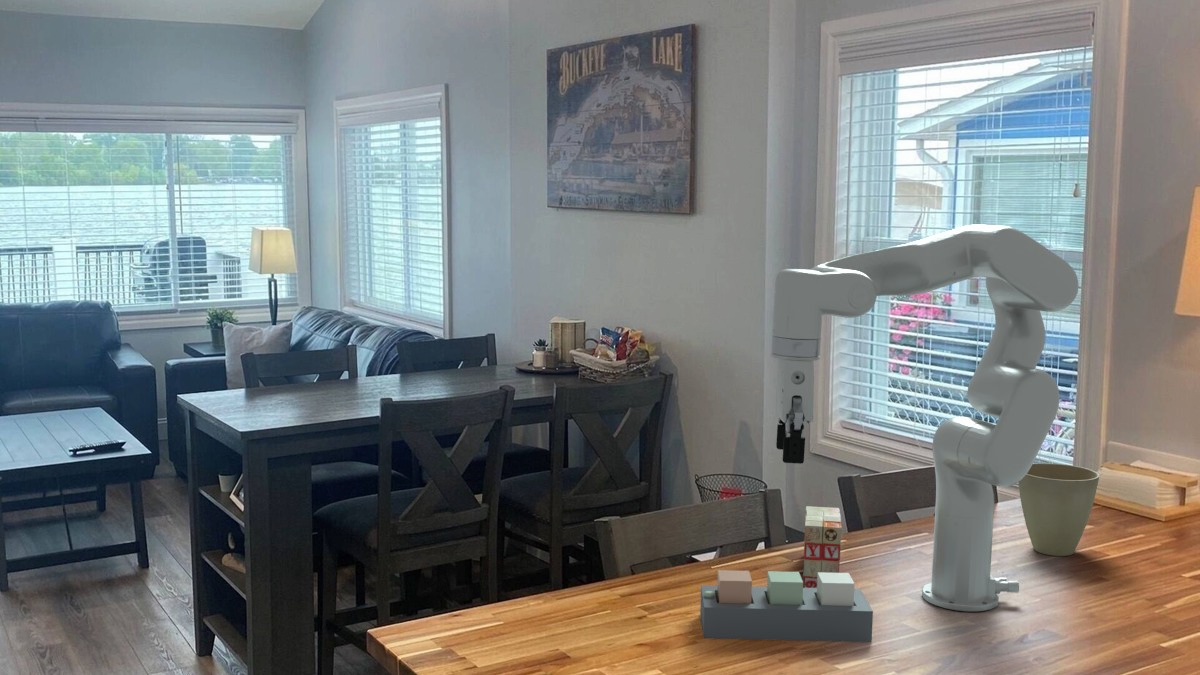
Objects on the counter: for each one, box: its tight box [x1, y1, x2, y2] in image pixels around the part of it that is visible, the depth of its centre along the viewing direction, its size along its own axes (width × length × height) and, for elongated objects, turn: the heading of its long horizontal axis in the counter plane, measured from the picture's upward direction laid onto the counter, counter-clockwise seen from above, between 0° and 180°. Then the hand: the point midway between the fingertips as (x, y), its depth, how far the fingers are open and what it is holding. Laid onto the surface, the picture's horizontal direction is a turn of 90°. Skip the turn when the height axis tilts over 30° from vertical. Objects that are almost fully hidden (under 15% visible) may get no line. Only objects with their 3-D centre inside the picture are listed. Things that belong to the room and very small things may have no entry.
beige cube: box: [716, 569, 753, 604], centre depth 183 cm, size 5×5×5 cm
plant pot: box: [1017, 462, 1101, 557], centre depth 224 cm, size 15×15×16 cm
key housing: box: [699, 585, 874, 643], centre depth 183 cm, size 26×10×6 cm, turn 88°
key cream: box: [817, 572, 855, 606], centre depth 182 cm, size 5×5×5 cm
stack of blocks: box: [802, 505, 842, 588], centre depth 209 cm, size 21×6×12 cm, turn 169°
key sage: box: [766, 570, 803, 605], centre depth 183 cm, size 5×5×5 cm
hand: (789, 455), depth 181 cm, fingers open, 9 cm apart
